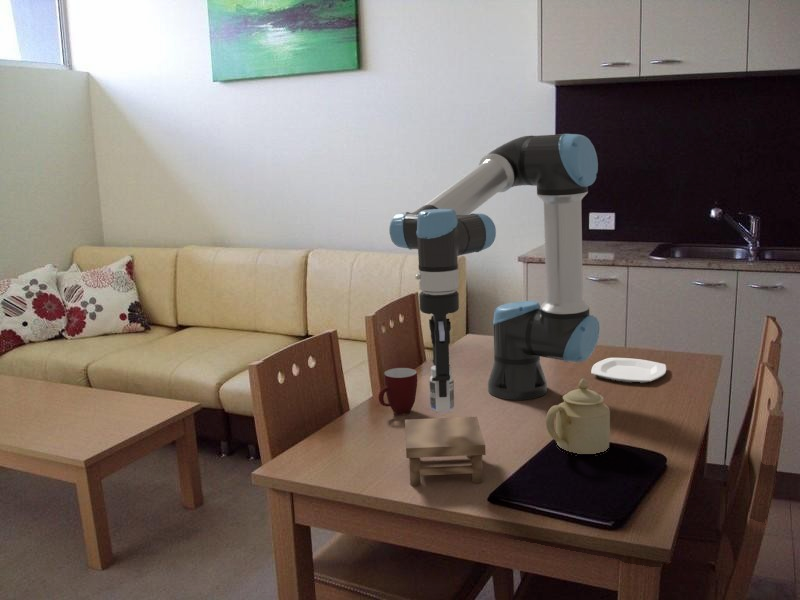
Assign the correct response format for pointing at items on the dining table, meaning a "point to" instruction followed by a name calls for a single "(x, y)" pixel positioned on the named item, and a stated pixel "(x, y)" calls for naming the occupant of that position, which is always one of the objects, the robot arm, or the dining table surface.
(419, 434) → the small wooden bench
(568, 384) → the dining table surface
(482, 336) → the dining table surface
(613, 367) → the plate
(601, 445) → the sugar bowl
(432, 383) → the pill bottle
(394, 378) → the mug
